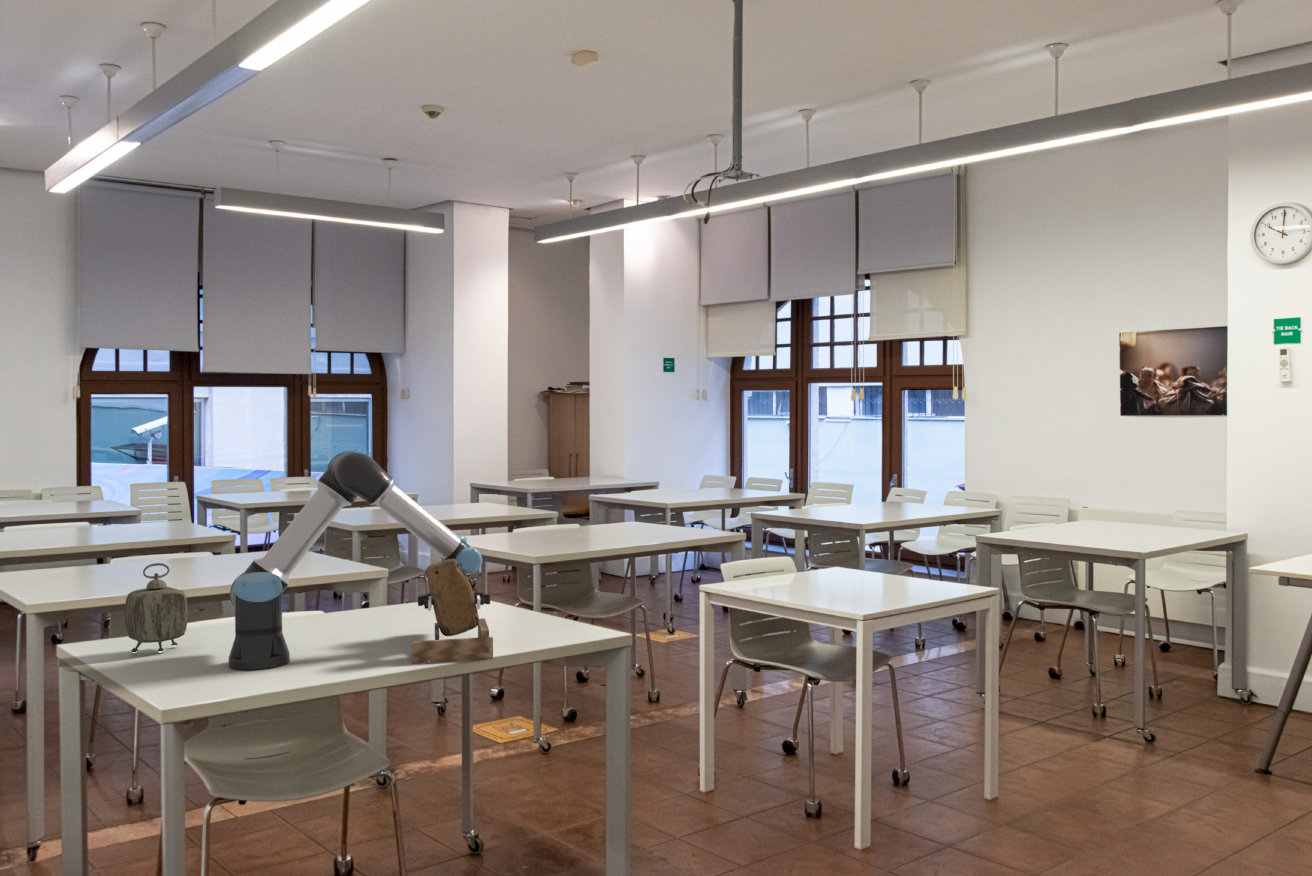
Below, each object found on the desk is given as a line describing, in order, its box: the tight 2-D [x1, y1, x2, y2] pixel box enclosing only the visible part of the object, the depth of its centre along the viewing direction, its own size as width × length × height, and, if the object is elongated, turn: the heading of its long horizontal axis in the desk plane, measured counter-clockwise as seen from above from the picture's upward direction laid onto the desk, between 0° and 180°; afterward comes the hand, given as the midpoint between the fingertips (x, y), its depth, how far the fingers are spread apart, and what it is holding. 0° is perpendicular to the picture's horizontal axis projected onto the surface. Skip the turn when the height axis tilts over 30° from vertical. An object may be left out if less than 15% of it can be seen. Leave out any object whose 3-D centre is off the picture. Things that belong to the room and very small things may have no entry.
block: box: [425, 559, 480, 637], centre depth 281 cm, size 11×8×20 cm
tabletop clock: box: [123, 562, 189, 653], centre depth 287 cm, size 14×9×25 cm, turn 134°
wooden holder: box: [411, 618, 494, 664], centre depth 281 cm, size 21×18×8 cm
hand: (454, 604), depth 278 cm, fingers open, 12 cm apart
